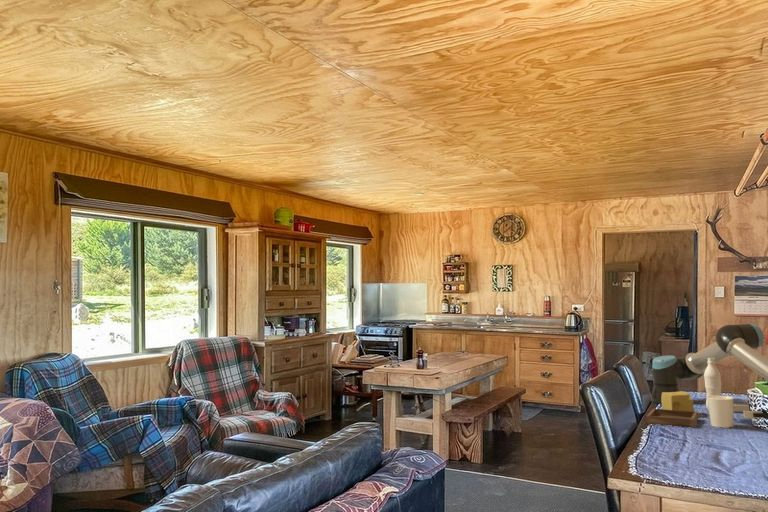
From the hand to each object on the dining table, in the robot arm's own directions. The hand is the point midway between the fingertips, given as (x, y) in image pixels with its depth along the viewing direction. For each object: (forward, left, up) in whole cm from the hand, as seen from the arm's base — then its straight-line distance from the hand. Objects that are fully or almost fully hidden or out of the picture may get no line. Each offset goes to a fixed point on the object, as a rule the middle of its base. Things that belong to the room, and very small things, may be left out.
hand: (737, 411), depth 248 cm
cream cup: (+2, -6, -7) cm, 9 cm away
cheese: (-16, -25, -7) cm, 31 cm away
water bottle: (-32, -11, -7) cm, 35 cm away
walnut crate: (+2, -25, -6) cm, 26 cm away
